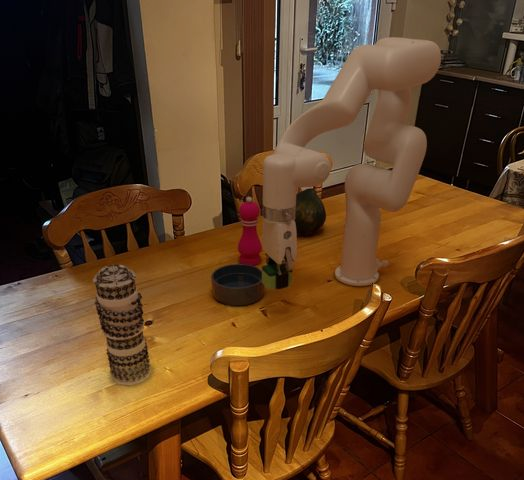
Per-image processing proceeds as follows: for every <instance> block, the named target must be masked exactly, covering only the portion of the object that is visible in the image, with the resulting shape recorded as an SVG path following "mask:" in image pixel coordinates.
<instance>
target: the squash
mask: <svg viewBox="0 0 524 480" xmlns="http://www.w3.org/2000/svg"><path fill="white" fill-rule="evenodd" d="M326 220H327V214H326V208H325V204H324V202H323V201H322V199H321V197H320V196H319V195H318V193H317V191H316V190H315V189H314V187H307V188H305V189H303V190H301V191H299V192H297V193H296V212H295V220H294V221H295V224H296V233H297V236H301V235H303V236H309V235H311V234H312V233H317V232H319V231H320V230H321V228H322V227H323V226H324V224H325V222H326Z"/></svg>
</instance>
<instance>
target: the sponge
mask: <svg viewBox="0 0 524 480" xmlns="http://www.w3.org/2000/svg"><path fill="white" fill-rule="evenodd" d="M283 267H285V264H282V265H281V269H282V268H283ZM261 270H262V283H263V284H264V287H266V288H267V289H268V291H272V290H277V289H276V274H278V273H277V263H275V264H270V265H268V264H265V265H262V266H261ZM293 270H294V269H292V270H291V271H290V273H289V279H288V287H290V286H293Z"/></svg>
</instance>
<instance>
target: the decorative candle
mask: <svg viewBox="0 0 524 480" xmlns="http://www.w3.org/2000/svg"><path fill="white" fill-rule="evenodd" d="M136 278H137V273H135V271H134V270H132V269H130V268H128V267H127V265H123V264H109V265H106V266H104V267H101V268H100V269H99V270H98V271H97V273H96V274H95V275H94V276H93V279H92V282H93V283H94V286H95V290H96V297H95V301H94V305H95V308H96V311H97V312H96V314H97V316H98V320H99V324H100V329H101V331H102V334H103V336H104V337H105V338H106V355H107V359H108V367H109V369H110V374H111V378H112V380H113V382H115V383H116V384H119V385H121V386H134V385H138V384H141V383H143V382H144V381H146V380H147V379H148V378H149V377H150V375H151V373H152V372H151V371H152V369H151V364H150V358H149V357H150V356H149V351H148V350H149V349H148V343H147V342H146V338H145V337H146V336H145V335H144V329H145V319H144V318H143V315H144V310H143V307H144V305H143V303H142V302H141V301H142V299H143V296H142V294H141V293H140V292H138V287H137V285H136V280H135V279H136Z"/></svg>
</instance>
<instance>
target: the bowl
mask: <svg viewBox="0 0 524 480" xmlns="http://www.w3.org/2000/svg"><path fill="white" fill-rule="evenodd" d="M210 280H211V281H210V283H211V295H212V297H213V298H214V299H215V300H217V301H218V302H219V303H221V304H224V305H227V306H233V307H240V306H241V307H242V306H243V307H244V306H248V305H251V304H255V303H256V302H258V301H259V300H261V298H263V297H264V295H265V285H264V284H263V283H262V268H259V267H257V266H256V265H253V266H252V265H246V264H241V263H232V264H226V265H223V266H219V267H218V268H216V269H214V271H212V273H211V275H210Z"/></svg>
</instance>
